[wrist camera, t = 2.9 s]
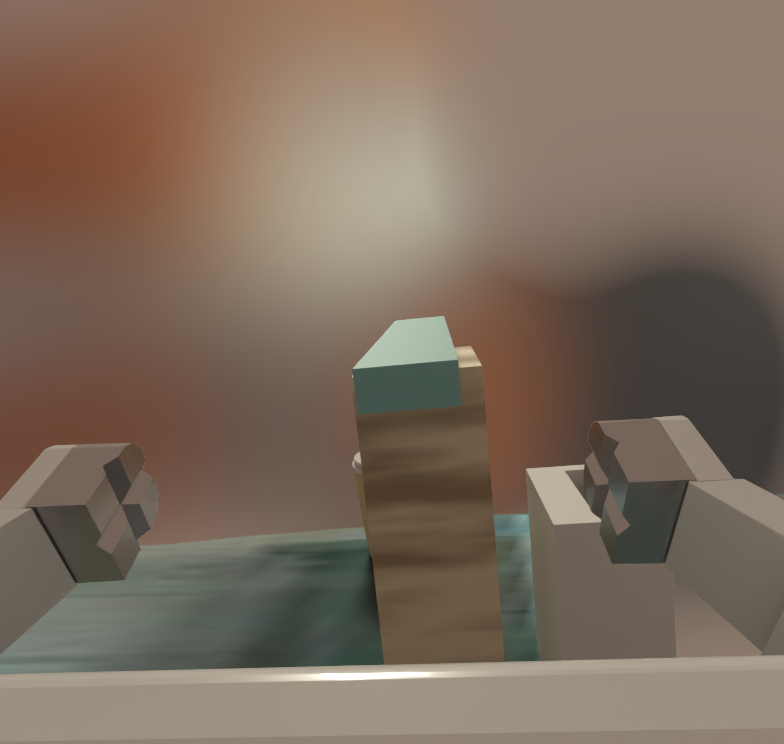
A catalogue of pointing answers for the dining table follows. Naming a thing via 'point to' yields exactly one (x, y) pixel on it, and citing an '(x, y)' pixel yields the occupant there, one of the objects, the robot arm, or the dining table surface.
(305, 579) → the dining table surface
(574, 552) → the grey slot box
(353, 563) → the dining table surface
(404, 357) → the teal board
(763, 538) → the robot arm
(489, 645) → the birch stand
